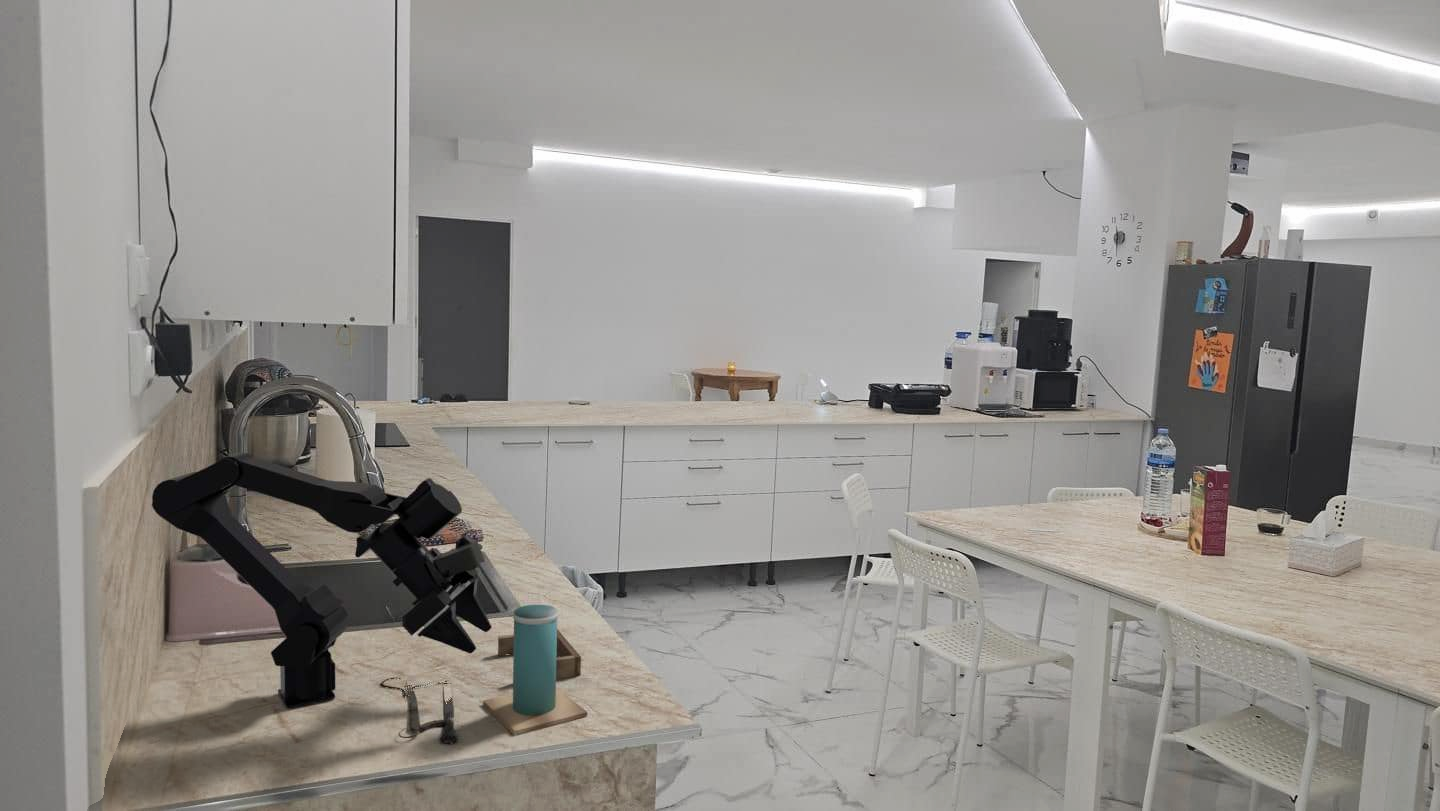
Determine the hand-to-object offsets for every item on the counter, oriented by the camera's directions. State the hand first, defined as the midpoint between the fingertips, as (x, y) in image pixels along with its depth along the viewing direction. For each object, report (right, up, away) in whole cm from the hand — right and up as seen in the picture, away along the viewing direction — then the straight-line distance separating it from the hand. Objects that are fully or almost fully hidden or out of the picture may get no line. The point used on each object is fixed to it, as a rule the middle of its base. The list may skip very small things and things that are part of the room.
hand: (481, 640), depth 131 cm
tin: (+7, -9, 0) cm, 12 cm away
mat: (+7, -10, 0) cm, 13 cm away
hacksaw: (-9, -10, -1) cm, 14 cm away
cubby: (+4, -8, +16) cm, 18 cm away
